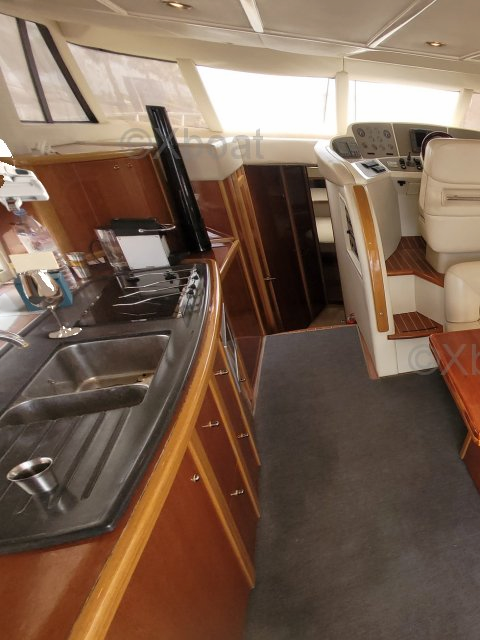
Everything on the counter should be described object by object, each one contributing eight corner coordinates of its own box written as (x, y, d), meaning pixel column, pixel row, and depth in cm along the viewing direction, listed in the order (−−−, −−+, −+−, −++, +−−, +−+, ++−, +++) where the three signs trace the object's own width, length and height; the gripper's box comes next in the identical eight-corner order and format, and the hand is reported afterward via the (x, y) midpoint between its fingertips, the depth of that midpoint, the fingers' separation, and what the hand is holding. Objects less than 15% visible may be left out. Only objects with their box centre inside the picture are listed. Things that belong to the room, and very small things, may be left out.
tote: (31, 300, 143) (16, 272, 138) (72, 294, 150) (59, 268, 144) (29, 311, 135) (13, 283, 130) (72, 305, 141) (58, 277, 136)
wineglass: (49, 341, 119) (14, 278, 109) (47, 332, 123) (12, 271, 113) (84, 333, 124) (53, 273, 114) (80, 325, 128) (50, 266, 118)
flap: (16, 273, 138) (17, 273, 138) (59, 268, 144) (59, 268, 145) (8, 255, 136) (8, 255, 136) (51, 251, 143) (52, 251, 143)
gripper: (-48, 171, 132) (-36, 206, 131) (37, 171, 144) (49, 203, 143) (-38, 183, 137) (-26, 217, 136) (44, 182, 149) (56, 213, 148)
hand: (13, 210), depth 140 cm, fingers closed
